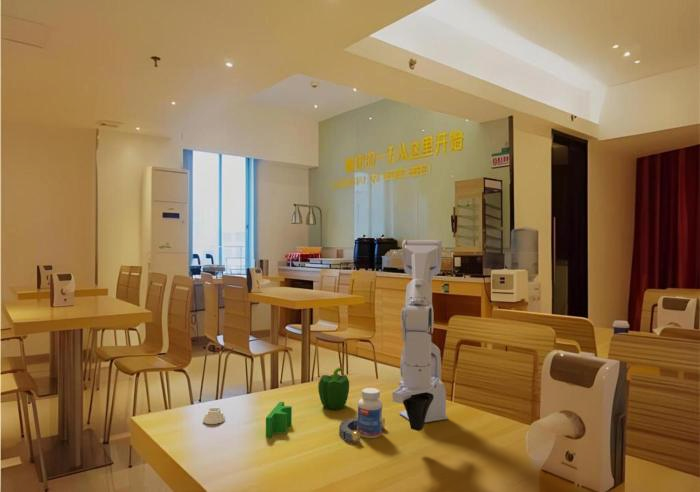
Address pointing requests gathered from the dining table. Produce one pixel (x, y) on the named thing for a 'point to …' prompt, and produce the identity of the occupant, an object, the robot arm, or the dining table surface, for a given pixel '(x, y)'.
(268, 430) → the pipe clamp
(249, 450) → the dining table surface
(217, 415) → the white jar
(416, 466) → the dining table surface
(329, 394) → the bell pepper
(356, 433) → the snap ring
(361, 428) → the pill bottle
